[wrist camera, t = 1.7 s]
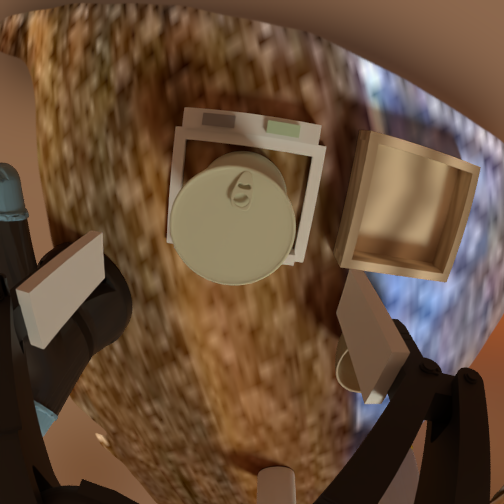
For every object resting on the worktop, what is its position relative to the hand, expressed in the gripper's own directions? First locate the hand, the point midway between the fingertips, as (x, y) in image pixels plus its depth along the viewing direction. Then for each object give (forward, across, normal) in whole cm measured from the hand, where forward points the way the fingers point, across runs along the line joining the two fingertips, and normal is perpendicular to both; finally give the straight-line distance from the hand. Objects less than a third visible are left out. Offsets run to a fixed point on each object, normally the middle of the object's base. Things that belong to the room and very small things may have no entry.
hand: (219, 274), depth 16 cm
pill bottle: (+19, +14, -57) cm, 61 cm away
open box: (+18, +18, +2) cm, 26 cm away
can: (+19, 0, 0) cm, 19 cm away
